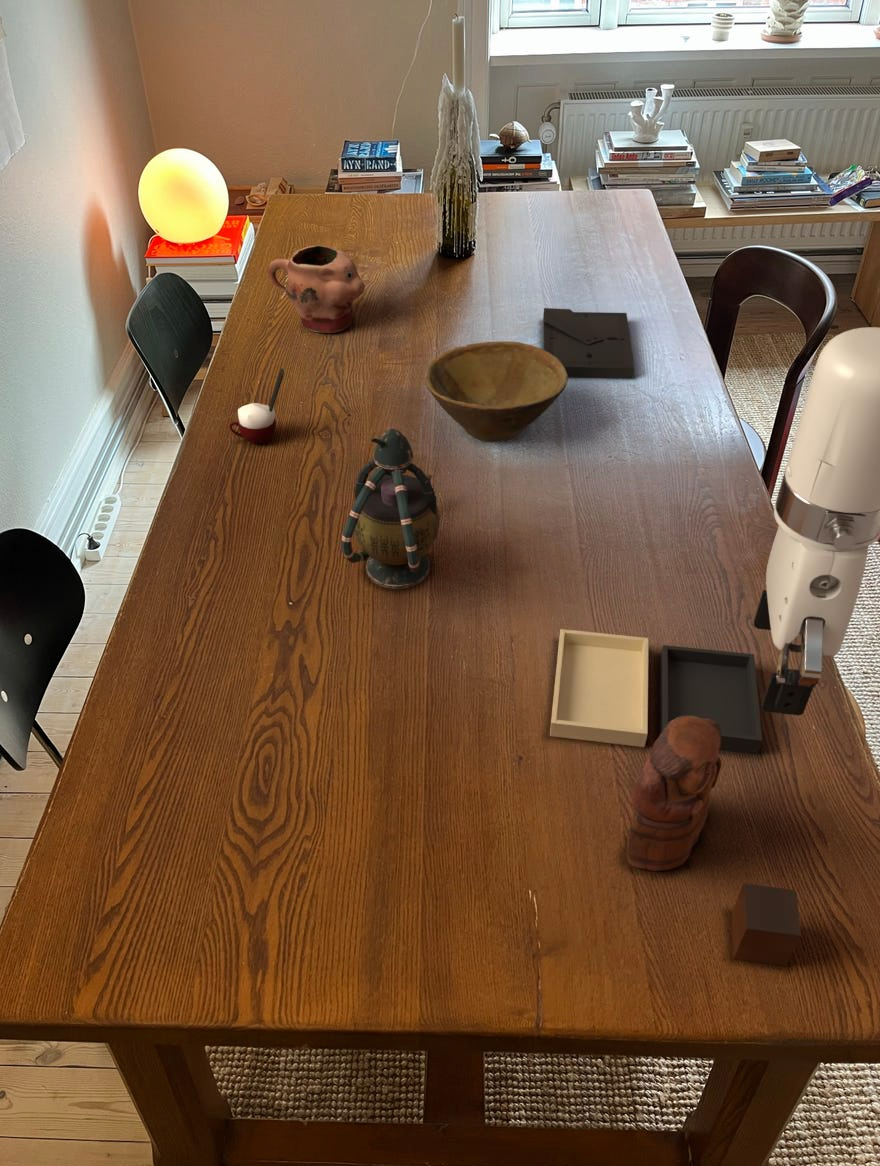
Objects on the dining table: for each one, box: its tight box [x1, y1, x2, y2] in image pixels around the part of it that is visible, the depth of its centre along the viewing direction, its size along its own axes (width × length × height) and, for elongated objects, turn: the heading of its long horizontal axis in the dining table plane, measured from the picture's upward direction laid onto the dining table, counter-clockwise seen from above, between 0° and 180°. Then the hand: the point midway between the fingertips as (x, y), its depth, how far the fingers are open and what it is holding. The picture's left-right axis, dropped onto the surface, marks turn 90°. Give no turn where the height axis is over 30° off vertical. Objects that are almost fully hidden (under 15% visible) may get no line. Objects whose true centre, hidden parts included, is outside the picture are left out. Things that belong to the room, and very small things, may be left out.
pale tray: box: [549, 628, 649, 748], centre depth 124 cm, size 11×16×2 cm
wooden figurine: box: [626, 716, 723, 872], centre depth 103 cm, size 12×6×18 cm, turn 144°
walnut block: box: [730, 882, 802, 967], centre depth 99 cm, size 5×5×6 cm
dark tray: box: [659, 644, 763, 755], centre depth 122 cm, size 11×14×2 cm
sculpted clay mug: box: [267, 245, 366, 334], centre depth 192 cm, size 20×12×14 cm, turn 73°
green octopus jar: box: [340, 428, 441, 590], centre depth 138 cm, size 12×25×23 cm, turn 165°
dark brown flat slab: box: [542, 307, 635, 380], centre depth 185 cm, size 16×3×21 cm
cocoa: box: [229, 368, 285, 445], centre depth 164 cm, size 10×6×12 cm, turn 78°
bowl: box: [424, 340, 569, 443], centre depth 165 cm, size 22×23×10 cm
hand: (776, 667), depth 84 cm, fingers open, 9 cm apart
